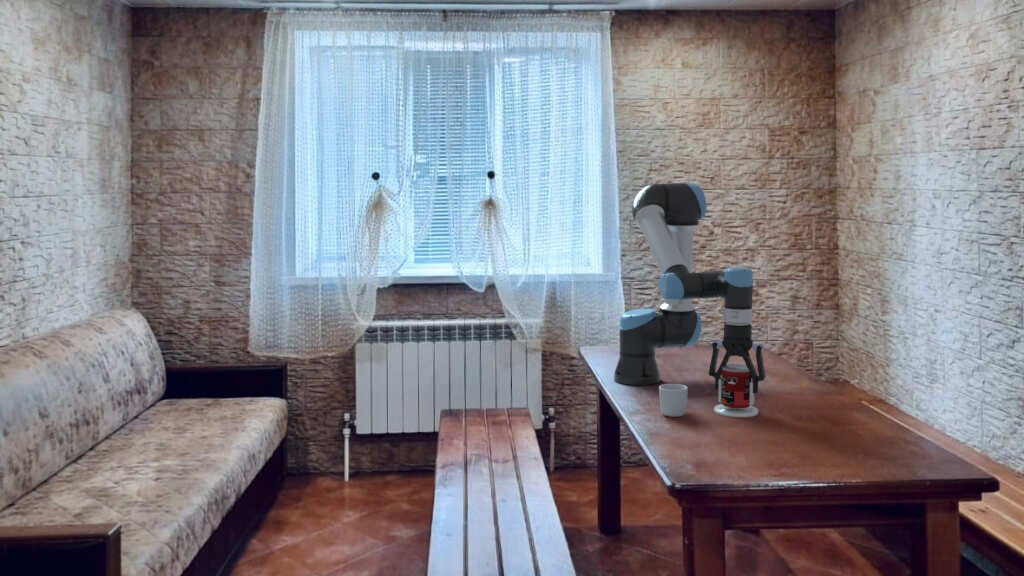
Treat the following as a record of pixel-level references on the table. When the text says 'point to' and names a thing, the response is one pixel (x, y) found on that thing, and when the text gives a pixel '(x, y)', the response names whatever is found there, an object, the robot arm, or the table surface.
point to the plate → (736, 411)
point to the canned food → (736, 386)
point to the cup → (673, 399)
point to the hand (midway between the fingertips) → (736, 402)
